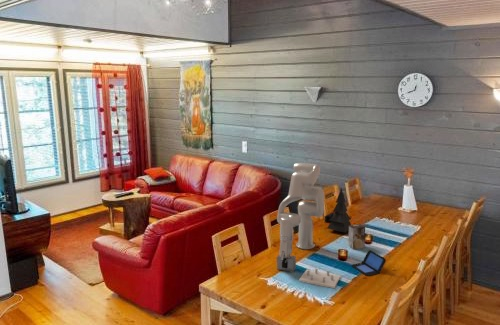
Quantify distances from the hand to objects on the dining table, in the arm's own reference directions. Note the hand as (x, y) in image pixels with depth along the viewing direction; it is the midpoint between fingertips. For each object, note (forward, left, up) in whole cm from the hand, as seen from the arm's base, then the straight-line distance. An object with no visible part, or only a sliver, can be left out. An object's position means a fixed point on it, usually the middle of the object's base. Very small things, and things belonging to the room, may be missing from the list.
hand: (286, 265), depth 237 cm
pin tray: (+4, +22, -2) cm, 23 cm away
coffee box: (-50, +32, -2) cm, 59 cm away
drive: (0, 0, -2) cm, 2 cm away
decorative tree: (-75, +15, -2) cm, 76 cm away
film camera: (-95, +4, -3) cm, 96 cm away
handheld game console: (-19, +45, -3) cm, 49 cm away
